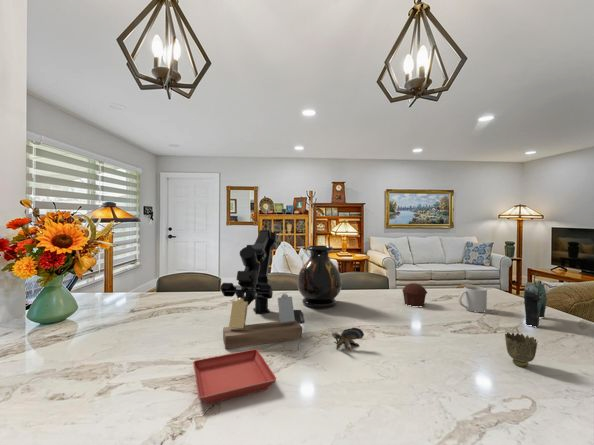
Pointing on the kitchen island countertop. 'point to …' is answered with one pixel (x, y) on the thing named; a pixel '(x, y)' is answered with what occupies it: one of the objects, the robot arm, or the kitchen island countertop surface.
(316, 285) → the amphora vase
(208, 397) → the plant saucer
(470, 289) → the mug
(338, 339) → the eagle figurine
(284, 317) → the slate lever
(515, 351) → the cup
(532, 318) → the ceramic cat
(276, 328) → the walnut panel
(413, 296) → the muffin
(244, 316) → the brass lever
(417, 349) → the kitchen island countertop surface
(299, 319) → the phone
